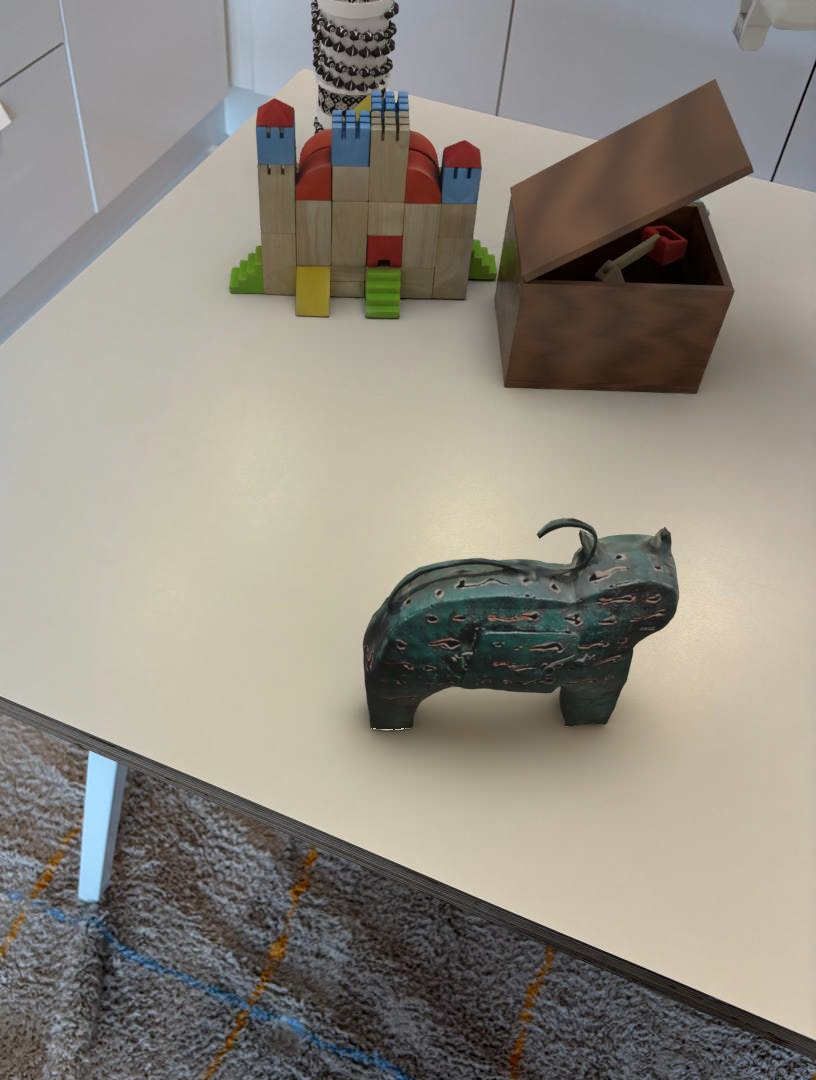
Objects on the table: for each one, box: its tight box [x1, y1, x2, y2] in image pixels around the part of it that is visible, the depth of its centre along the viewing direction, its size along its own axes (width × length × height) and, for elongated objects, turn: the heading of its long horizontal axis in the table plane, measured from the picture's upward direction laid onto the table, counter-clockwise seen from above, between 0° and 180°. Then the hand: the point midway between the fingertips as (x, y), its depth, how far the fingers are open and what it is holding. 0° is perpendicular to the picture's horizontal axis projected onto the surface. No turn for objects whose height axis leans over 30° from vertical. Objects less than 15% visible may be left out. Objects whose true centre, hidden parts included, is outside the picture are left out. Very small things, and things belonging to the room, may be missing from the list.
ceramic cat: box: [362, 517, 680, 730], centre depth 68 cm, size 20×6×20 cm, turn 93°
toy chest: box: [493, 197, 735, 394], centre depth 99 cm, size 19×15×11 cm
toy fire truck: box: [595, 226, 688, 283], centre depth 99 cm, size 3×14×10 cm, turn 121°
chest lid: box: [509, 78, 755, 282], centre depth 90 cm, size 20×15×1 cm
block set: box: [229, 90, 498, 319], centre depth 102 cm, size 28×14×19 cm, turn 89°
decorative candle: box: [310, 0, 400, 135], centre depth 112 cm, size 9×9×25 cm
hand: (745, 42), depth 81 cm, fingers closed
